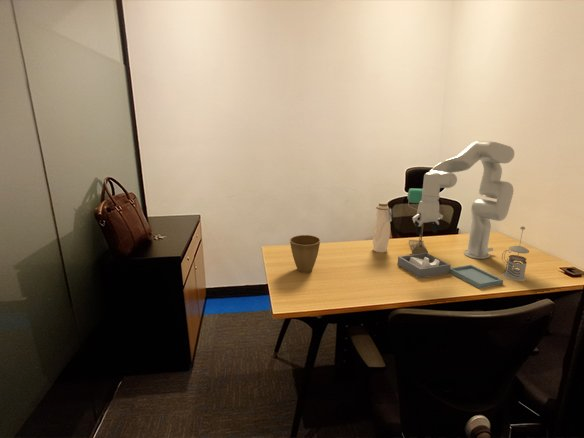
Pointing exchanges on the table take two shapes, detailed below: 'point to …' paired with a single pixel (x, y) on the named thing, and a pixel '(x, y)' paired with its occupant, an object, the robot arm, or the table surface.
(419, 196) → the banker's lamp
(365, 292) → the table surface
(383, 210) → the water bottle
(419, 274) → the bin
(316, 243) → the plant pot
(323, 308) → the table surface
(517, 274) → the french press
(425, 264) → the bracket
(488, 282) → the tray
